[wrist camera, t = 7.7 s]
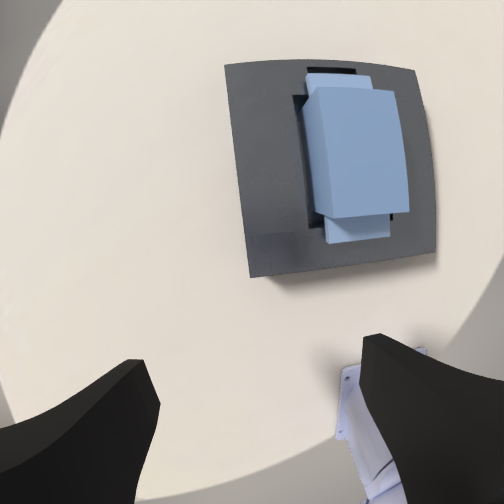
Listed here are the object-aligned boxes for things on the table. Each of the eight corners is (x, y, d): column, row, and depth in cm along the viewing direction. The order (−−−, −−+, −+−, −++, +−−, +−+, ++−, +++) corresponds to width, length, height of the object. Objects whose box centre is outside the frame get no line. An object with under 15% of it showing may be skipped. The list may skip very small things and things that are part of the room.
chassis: (416, 244, 17) (435, 252, 15) (250, 265, 18) (250, 278, 15) (397, 81, 15) (414, 70, 12) (227, 80, 15) (224, 64, 12)
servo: (370, 227, 17) (410, 242, 12) (311, 234, 17) (335, 252, 12) (353, 93, 15) (386, 64, 10) (294, 92, 15) (310, 59, 10)
